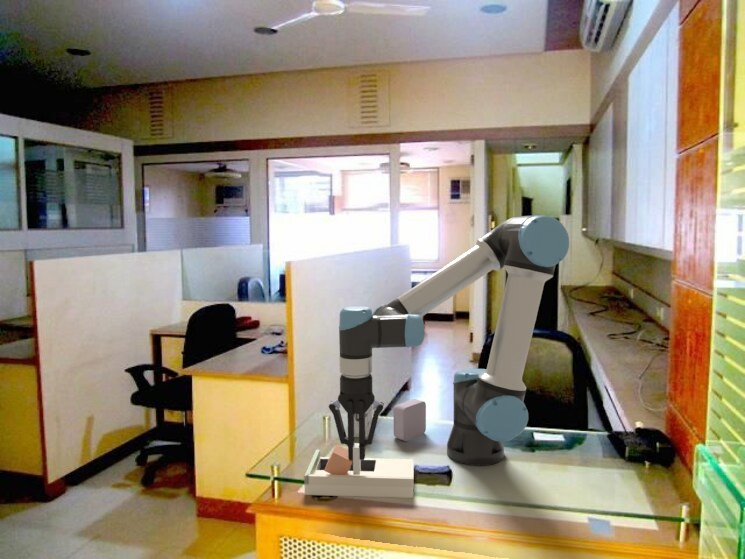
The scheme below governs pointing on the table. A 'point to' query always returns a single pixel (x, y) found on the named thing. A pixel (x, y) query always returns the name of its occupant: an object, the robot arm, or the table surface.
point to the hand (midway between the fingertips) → (357, 472)
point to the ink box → (367, 423)
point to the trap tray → (362, 478)
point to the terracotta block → (338, 461)
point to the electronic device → (409, 419)
